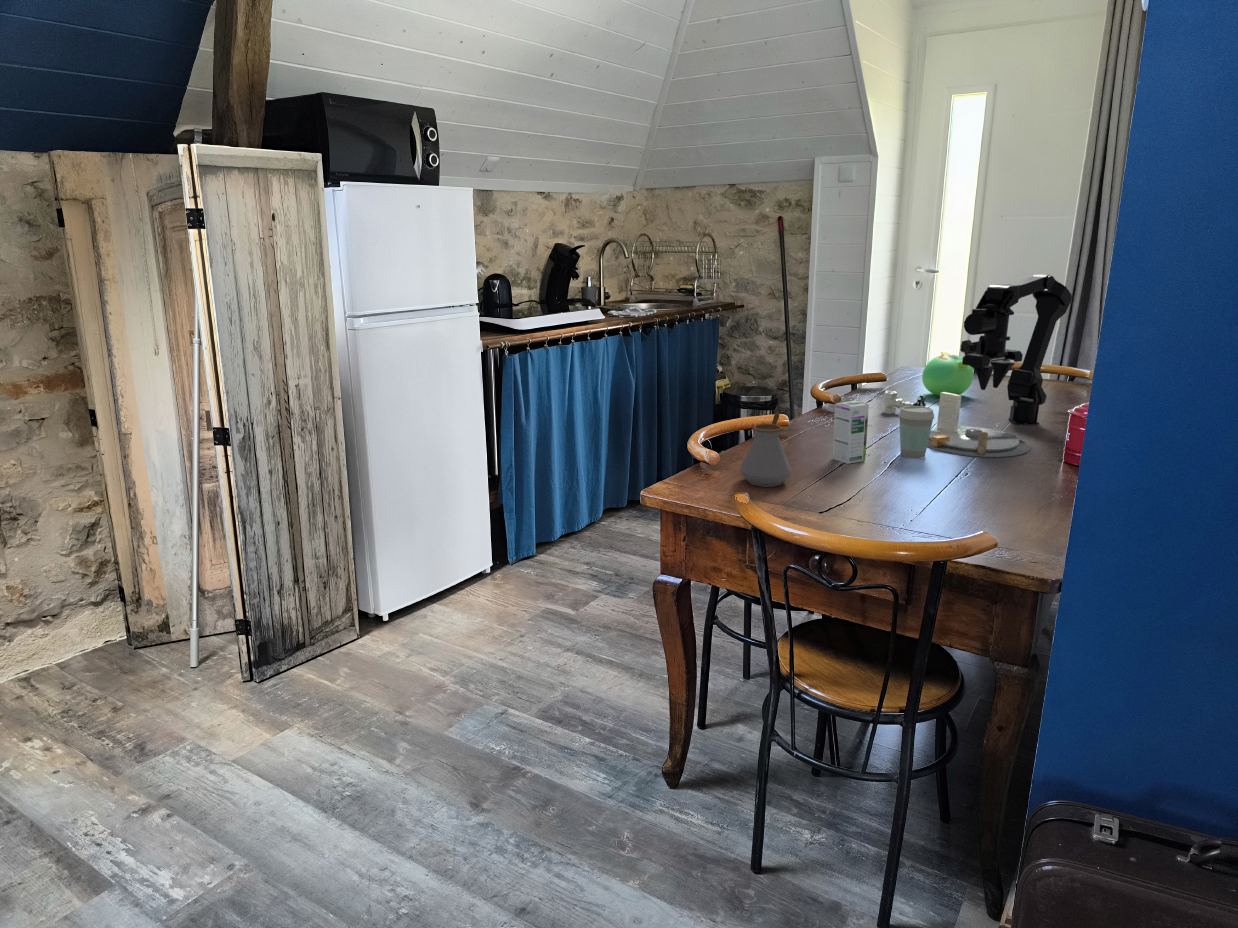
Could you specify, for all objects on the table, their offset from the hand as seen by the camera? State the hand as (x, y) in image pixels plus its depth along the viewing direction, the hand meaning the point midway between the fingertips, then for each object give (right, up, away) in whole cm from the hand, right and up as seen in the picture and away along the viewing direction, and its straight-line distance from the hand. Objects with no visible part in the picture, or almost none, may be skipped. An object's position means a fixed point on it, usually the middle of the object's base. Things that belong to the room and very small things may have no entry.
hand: (989, 388), depth 229 cm
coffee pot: (-68, -24, -36) cm, 80 cm away
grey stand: (-10, -15, -10) cm, 21 cm away
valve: (-16, -6, +25) cm, 30 cm away
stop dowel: (-12, -19, -22) cm, 31 cm away
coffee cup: (-29, -19, -20) cm, 40 cm away
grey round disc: (-9, -15, -10) cm, 20 cm away
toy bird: (+8, +2, +50) cm, 50 cm away
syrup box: (-46, -20, -24) cm, 55 cm away
